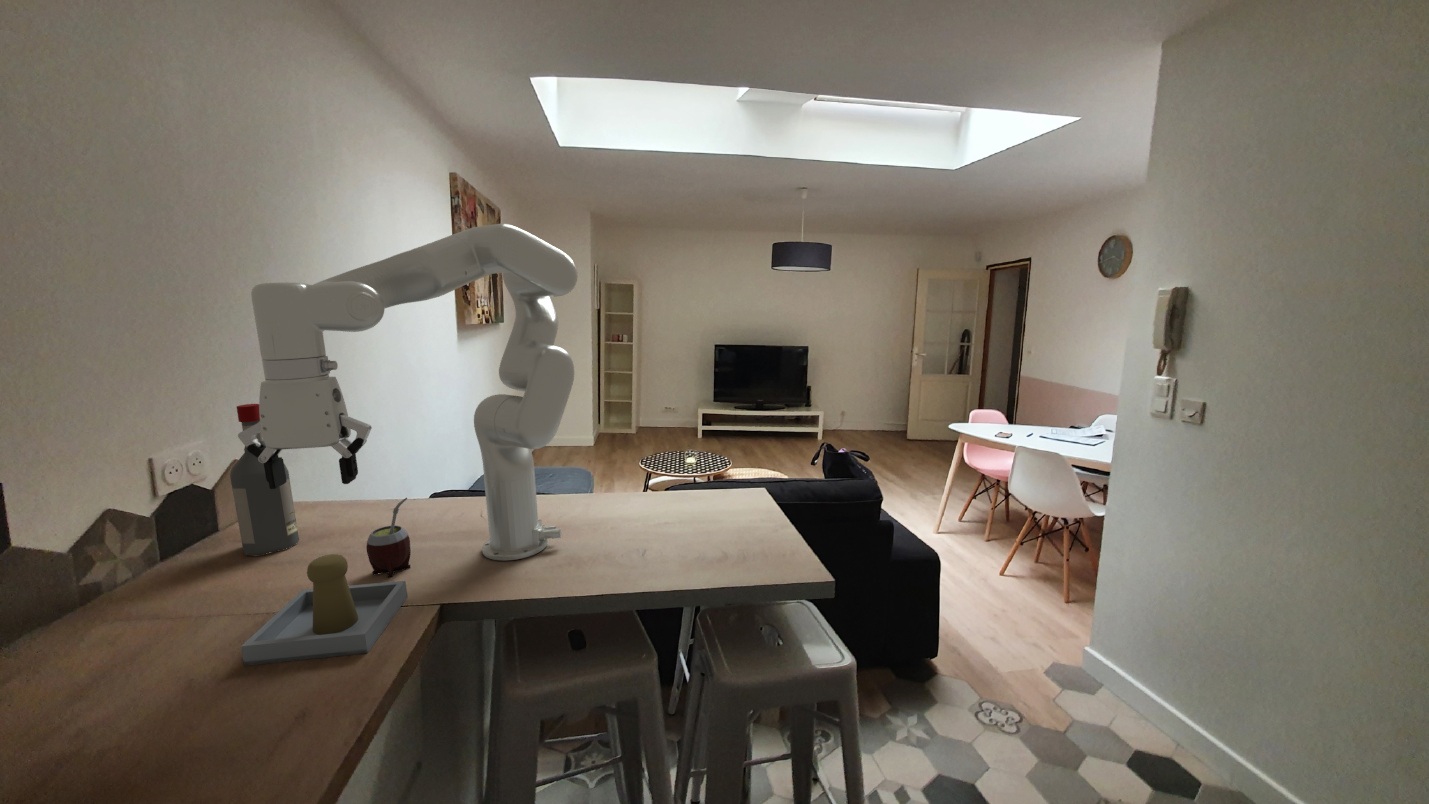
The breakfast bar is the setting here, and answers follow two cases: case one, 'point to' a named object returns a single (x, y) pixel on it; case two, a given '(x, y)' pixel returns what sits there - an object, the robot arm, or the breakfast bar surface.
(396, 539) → the mate gourd
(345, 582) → the cork
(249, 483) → the liquor
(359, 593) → the tray
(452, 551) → the breakfast bar surface
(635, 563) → the breakfast bar surface
